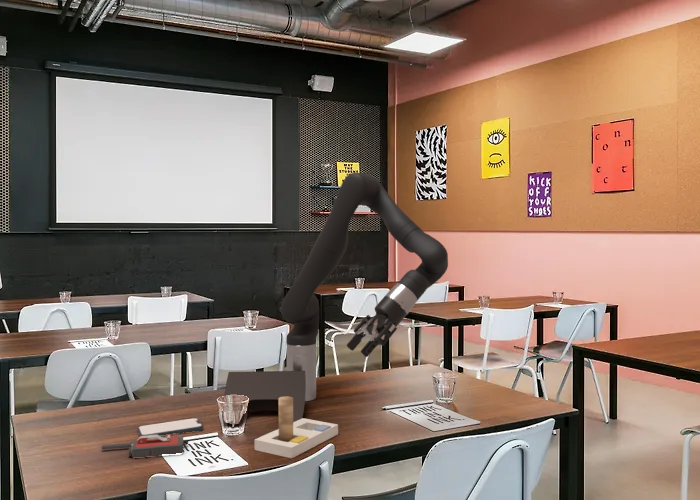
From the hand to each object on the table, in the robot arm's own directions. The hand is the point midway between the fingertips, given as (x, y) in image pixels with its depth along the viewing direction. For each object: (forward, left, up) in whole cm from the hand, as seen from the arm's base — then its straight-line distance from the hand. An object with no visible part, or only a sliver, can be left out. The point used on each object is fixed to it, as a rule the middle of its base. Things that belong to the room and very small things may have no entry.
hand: (356, 351), depth 159 cm
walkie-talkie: (-37, -36, -22) cm, 56 cm away
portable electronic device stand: (-30, +1, -22) cm, 38 cm away
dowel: (-10, -17, -22) cm, 29 cm away
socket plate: (-10, -12, -22) cm, 26 cm away
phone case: (-44, -21, -22) cm, 54 cm away
